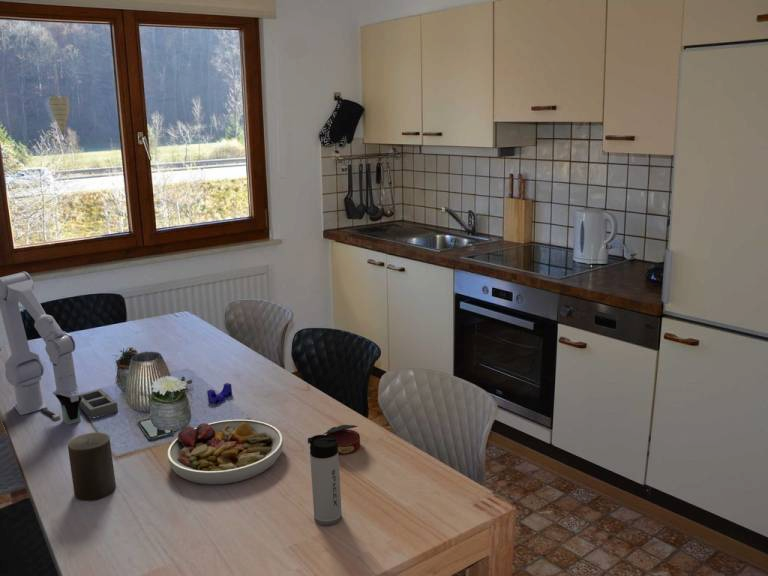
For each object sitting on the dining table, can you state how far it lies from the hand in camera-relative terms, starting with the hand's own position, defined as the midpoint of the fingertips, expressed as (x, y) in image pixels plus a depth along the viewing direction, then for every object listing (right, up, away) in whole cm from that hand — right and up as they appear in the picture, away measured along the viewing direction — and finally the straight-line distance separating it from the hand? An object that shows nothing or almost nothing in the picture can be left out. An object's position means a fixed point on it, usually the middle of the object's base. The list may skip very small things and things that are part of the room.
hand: (71, 416), depth 220 cm
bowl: (+53, -7, -27) cm, 60 cm away
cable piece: (-9, 0, +6) cm, 11 cm away
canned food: (+84, -5, -22) cm, 87 cm away
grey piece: (+4, +1, +9) cm, 10 cm away
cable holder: (+43, +3, +13) cm, 45 cm away
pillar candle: (+23, -12, -40) cm, 48 cm away
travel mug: (+82, -14, -55) cm, 100 cm away
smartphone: (+28, -3, -7) cm, 29 cm away
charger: (0, -1, 0) cm, 1 cm away
